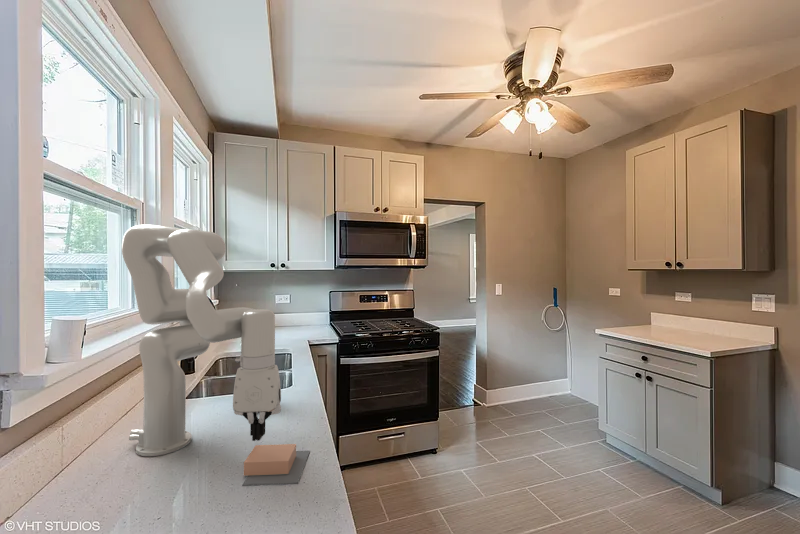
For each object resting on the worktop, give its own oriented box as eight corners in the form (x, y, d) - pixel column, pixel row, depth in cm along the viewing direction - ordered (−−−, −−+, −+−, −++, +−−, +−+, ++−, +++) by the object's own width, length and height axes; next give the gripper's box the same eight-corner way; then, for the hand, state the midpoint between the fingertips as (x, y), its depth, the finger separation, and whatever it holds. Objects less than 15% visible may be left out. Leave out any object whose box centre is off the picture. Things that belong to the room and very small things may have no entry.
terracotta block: (243, 462, 80) (288, 460, 81) (255, 445, 88) (296, 443, 89) (243, 476, 80) (288, 474, 81) (255, 458, 88) (296, 456, 89)
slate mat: (242, 485, 77) (242, 484, 77) (263, 453, 91) (263, 451, 91) (297, 483, 78) (297, 482, 78) (309, 451, 92) (309, 450, 92)
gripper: (219, 366, 80) (218, 446, 80) (285, 364, 81) (285, 444, 81) (232, 358, 88) (232, 432, 88) (293, 357, 89) (293, 430, 89)
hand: (257, 437), depth 84 cm, fingers closed
